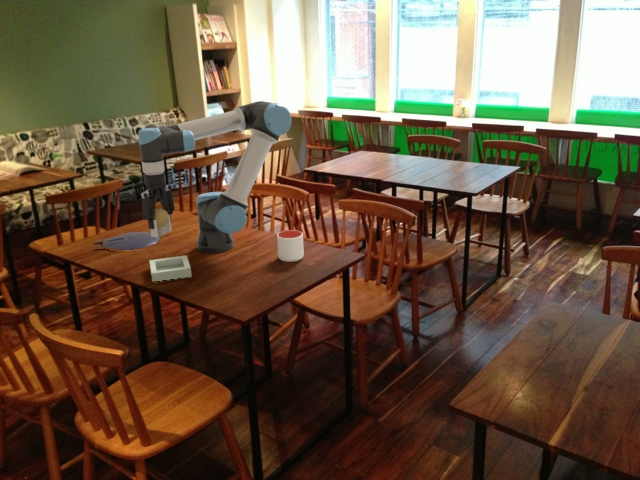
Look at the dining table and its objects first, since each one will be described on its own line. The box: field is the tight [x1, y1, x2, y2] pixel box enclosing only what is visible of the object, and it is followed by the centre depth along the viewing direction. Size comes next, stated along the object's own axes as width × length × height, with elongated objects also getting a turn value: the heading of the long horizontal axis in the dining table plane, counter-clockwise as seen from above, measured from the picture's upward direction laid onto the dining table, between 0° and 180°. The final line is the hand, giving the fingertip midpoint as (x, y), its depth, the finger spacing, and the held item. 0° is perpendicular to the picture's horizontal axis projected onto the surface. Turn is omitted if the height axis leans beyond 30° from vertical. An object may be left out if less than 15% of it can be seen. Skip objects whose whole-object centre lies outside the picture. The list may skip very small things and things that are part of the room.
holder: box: [149, 255, 193, 282], centre depth 219 cm, size 14×14×4 cm
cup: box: [276, 229, 305, 263], centre depth 228 cm, size 10×10×10 cm
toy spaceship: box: [91, 231, 161, 250], centre depth 253 cm, size 28×24×3 cm
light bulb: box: [150, 208, 169, 237], centre depth 214 cm, size 6×6×10 cm
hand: (161, 233), depth 216 cm, fingers closed on light bulb, 6 cm apart
